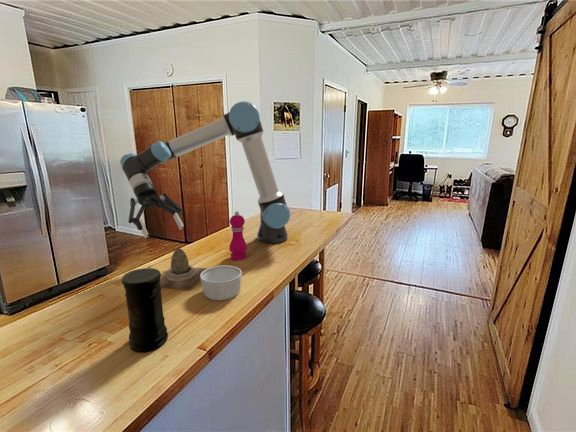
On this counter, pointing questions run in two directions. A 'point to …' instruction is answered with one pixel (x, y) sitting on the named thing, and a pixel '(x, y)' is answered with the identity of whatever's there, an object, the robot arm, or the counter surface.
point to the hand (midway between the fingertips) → (165, 231)
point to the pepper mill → (237, 238)
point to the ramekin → (221, 282)
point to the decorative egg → (179, 262)
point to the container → (145, 309)
